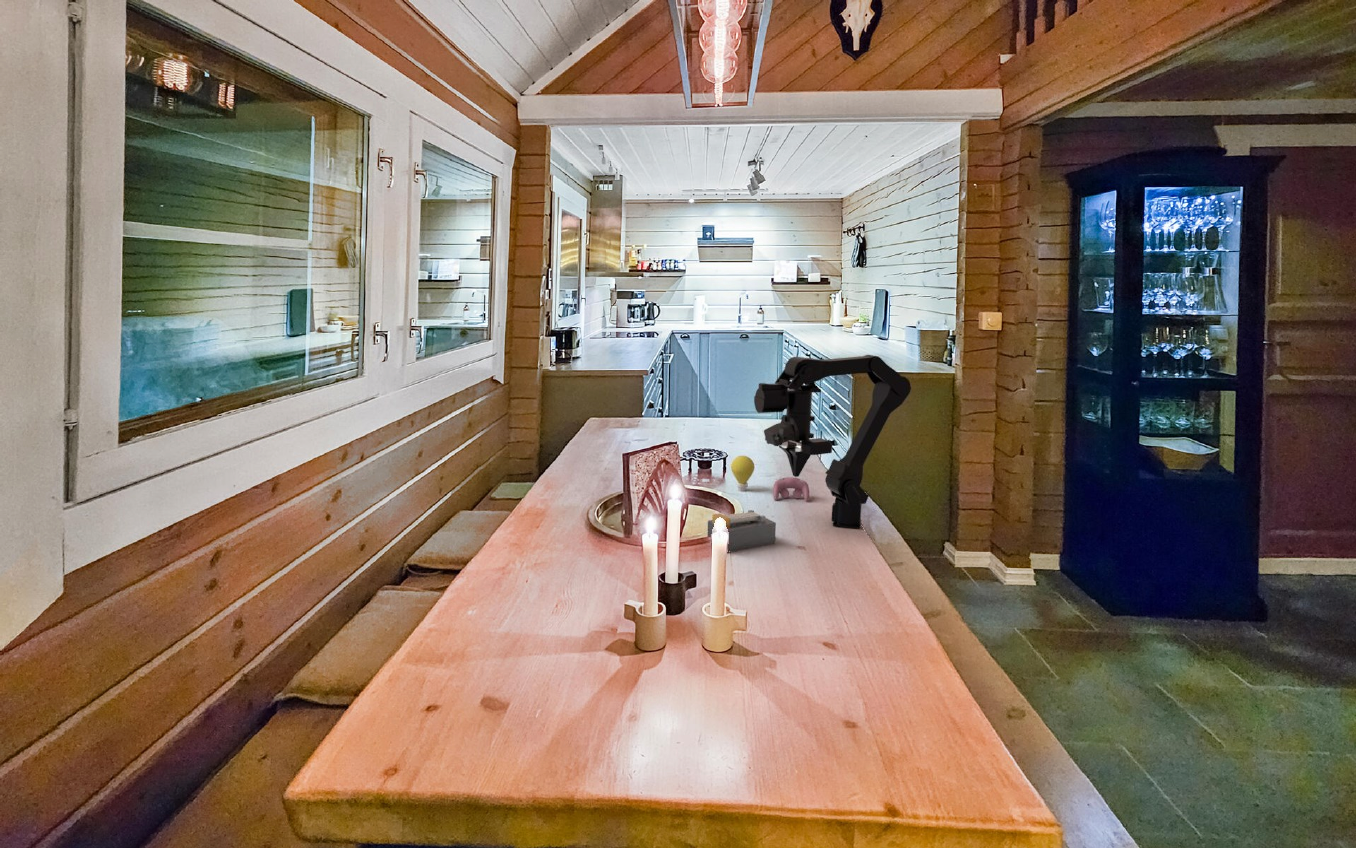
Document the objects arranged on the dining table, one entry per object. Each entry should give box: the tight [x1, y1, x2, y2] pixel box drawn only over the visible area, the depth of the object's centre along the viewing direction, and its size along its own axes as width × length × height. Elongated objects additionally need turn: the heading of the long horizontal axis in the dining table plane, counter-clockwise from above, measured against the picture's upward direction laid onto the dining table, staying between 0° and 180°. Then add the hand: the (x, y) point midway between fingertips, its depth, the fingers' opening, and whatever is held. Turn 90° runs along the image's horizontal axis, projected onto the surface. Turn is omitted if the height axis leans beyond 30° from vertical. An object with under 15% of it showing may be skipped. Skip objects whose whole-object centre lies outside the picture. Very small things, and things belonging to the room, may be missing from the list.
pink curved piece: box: [772, 476, 810, 503], centre depth 203 cm, size 10×5×7 cm, turn 85°
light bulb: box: [730, 455, 755, 492], centre depth 211 cm, size 7×7×10 cm
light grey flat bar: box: [723, 511, 762, 523], centre depth 167 cm, size 8×3×1 cm, turn 118°
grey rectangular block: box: [707, 509, 777, 554], centre depth 167 cm, size 13×8×7 cm, turn 118°
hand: (795, 476), depth 175 cm, fingers closed
